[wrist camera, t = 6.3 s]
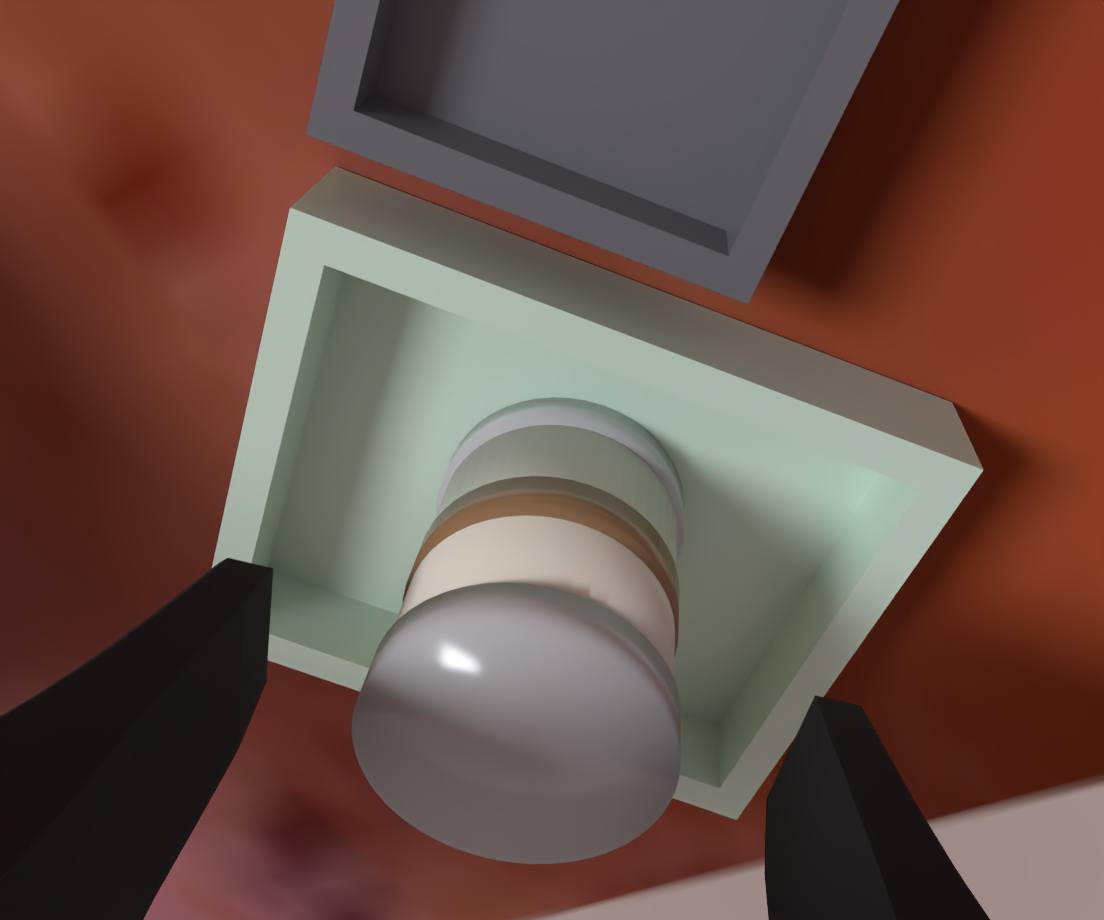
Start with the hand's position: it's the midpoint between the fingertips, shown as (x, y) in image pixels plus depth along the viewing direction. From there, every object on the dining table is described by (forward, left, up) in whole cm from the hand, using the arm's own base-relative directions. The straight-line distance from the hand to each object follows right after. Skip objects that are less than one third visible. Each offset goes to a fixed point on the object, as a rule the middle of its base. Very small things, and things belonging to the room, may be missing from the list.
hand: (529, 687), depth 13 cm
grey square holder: (+2, -8, -5) cm, 9 cm away
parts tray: (0, 0, -5) cm, 5 cm away
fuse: (0, 0, -4) cm, 4 cm away
